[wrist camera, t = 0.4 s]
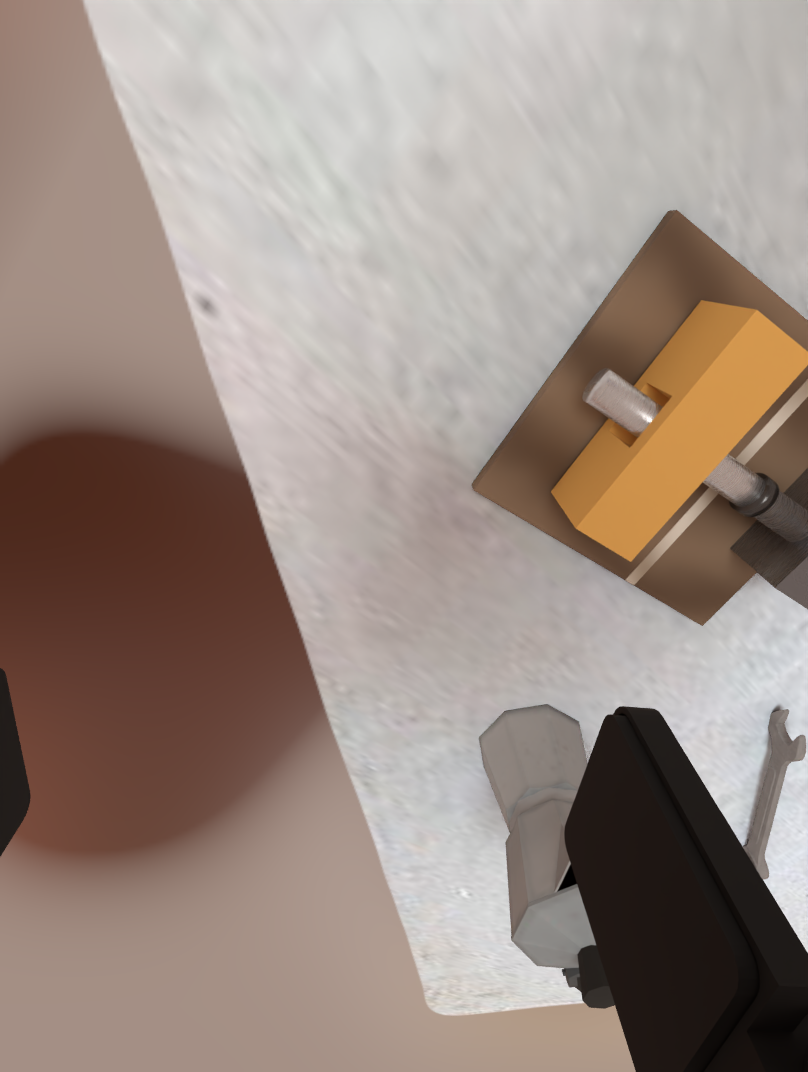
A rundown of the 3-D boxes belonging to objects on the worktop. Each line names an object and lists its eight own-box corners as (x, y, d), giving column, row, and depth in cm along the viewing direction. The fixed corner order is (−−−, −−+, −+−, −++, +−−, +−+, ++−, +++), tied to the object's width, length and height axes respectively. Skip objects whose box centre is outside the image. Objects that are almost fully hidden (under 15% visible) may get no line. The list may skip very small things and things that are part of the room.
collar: (701, 300, 31) (757, 309, 27) (752, 341, 32) (814, 357, 28) (550, 491, 36) (575, 528, 31) (599, 522, 37) (630, 562, 32)
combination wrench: (771, 891, 53) (819, 733, 43) (757, 892, 53) (801, 734, 43) (748, 851, 56) (788, 696, 46) (734, 853, 56) (771, 698, 46)
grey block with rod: (619, 318, 32) (658, 330, 27) (843, 486, 37) (907, 519, 32) (540, 424, 34) (564, 451, 30) (760, 568, 39) (808, 609, 35)
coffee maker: (466, 694, 45) (513, 945, 29) (580, 676, 44) (692, 920, 28) (488, 821, 52) (537, 1082, 35) (587, 806, 51) (682, 1064, 35)
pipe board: (668, 211, 31) (677, 210, 30) (904, 409, 36) (918, 413, 35) (471, 484, 37) (473, 490, 36) (695, 617, 42) (702, 626, 41)
